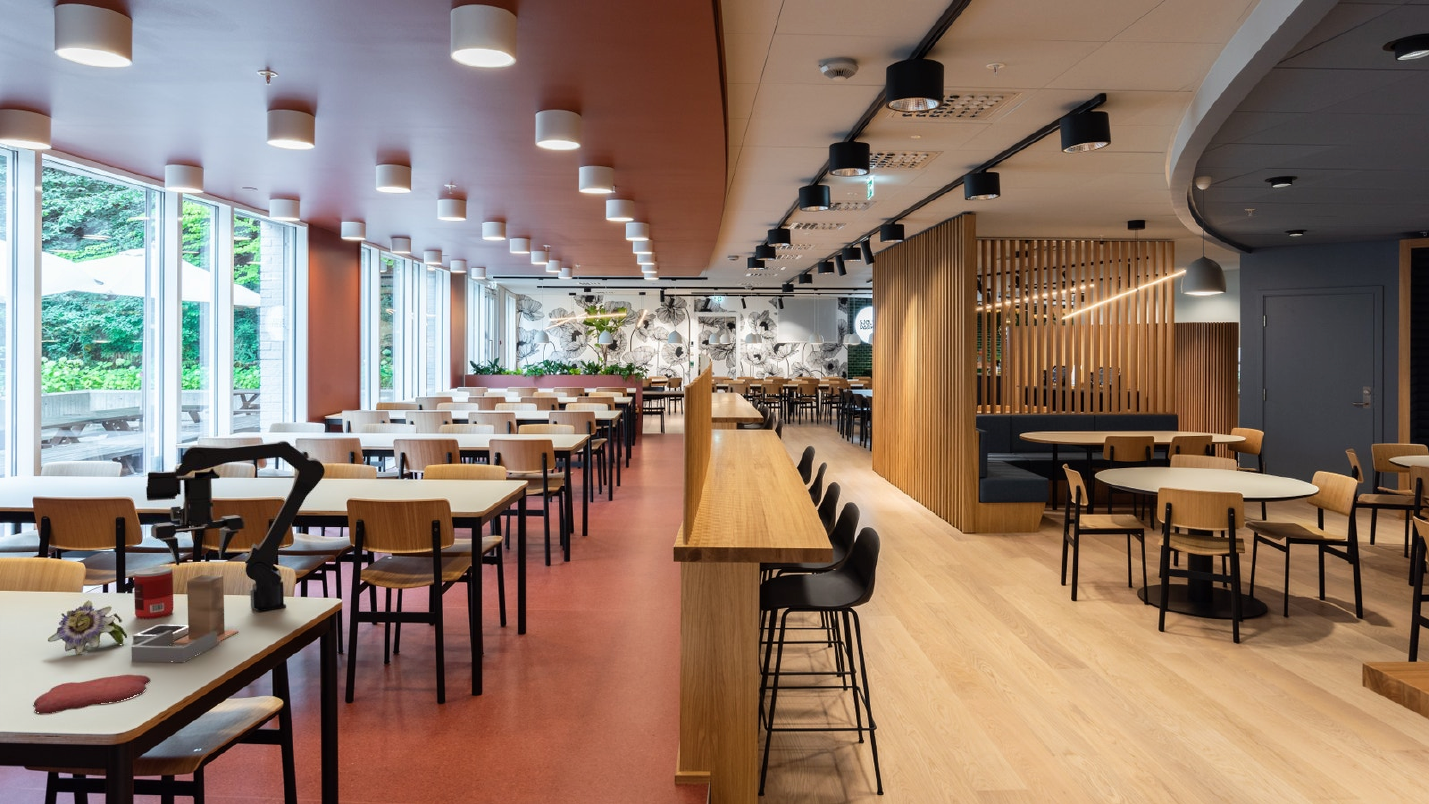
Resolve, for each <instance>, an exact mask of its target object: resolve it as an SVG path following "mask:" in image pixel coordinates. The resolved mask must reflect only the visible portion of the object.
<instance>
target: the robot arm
mask: <svg viewBox="0 0 1429 804" xmlns="http://www.w3.org/2000/svg"><path fill="white" fill-rule="evenodd" d="M276 458H281V459H282V460H283V461H285V462H286V463H287V464H289V465H290V466H292V467H293V468H294V469H295V470H297V471H296V473H295V477H294V480H293V483H292V486H291V487H292V488H291V490H290V491H289V493H288V494H287V497H286V499H285V501H284V503H283V504H282V506H281V508H280V510H279V511H278V514H277V515H276V517H275V519H274V521H273V522H272V524H271V526H270V528H269V530H268V532H267V534H266V535H265V537H264V539H263V540H262V541H261V542H260V543H259V544H256V543H254V542H253V543H252V545H251V547H250V550H249V552H248V554H247V555H245V557H244V564H245V573H246V576H247V577H248V578H249V579H251V580H253V581H255V582H254V583H252V589H251V590H250V608H252V609H253V610H254V611H256V612H259V613H261V612H266V611H272V610H277V609H283V608H286V607H287V604H286V603H285V602H284V599H285V597H284V596H285V594H284V581H283V580H282V573H281V569H279V568H278V567H277V566H275V562H276V559H277V556H278V555H277V554H278V552H279V547H280V545H281V544H282V542H283V540H284V539H285V537H286V535H287V533H288V531H289V529H290V527H291V526H292V524H293V522H294V519H295V518H296V516H297V514H298V513H299V511H300V510H301V507H302V505H303V503H304V501H305V500H306V498H307V497H308V495H310V494H311V492H312V491H313V490H314V489H315V487H317V485H318V484H319V483H320V482H321V480H322V479H323V478H324V476H325V473H326V470H325V467H324V465H323V463H322V462H321V461H320V460H319V459H318V458H316V457H315V458H314V457H308V456H307V455H305V454H304V453H302V452H301V451H299V450H298V449H297V448H295V447H294V446H292V444H291V443H289V442H288V441H286V440H279V441H275V442H266V443H254V444H253V443H252V444H245V445H243V444H242V445H234V446H219V445H218V446H217V445H209V444H208V445H206V444H196V445H192V446H189V447H188V448H187V449H186V450H185V451H184V453H183V455H182V462H181V464H180V465H179V466H177V467H176V468H175V470H174V471H173V470H172V471H154V470H153V471H152V470H151V471H148V473H147V482H146V483H147V484H146V485H147V486H146V487H145V488H146V490H145V491H146V500H147V501H149V502H151V501H167V500H168V501H169V500H170V501H171V500H176V498H177V497H178V496H180V495H182V481H183V498H184V501H183V507H181V506H172V507H170V520H171V521H172V522H161V523H154V524H153V525H152V526H151V528H150V535H151V537H152V538H154V539H157V540H160V541H161V542H163V543H165V544H166V546H167V548H168V549H169V551H170V553H171V555H172V558H173V560H174V563H175V566H180V559H181V558H180V549H179V540H178V537H176V534H179V533H185V532H186V533H190V532H196V531H198V532H199V531H204V530H214V529H218V531H219V532H218V533H219V546H218V547H219V548H218V559H219V560H223V558H224V556H225V553H226V551H227V549H228V547H229V544H230V543H231V541H232V539H233V537H234V535H235V534H238V533H239V532H240V531H239V530H244V529H245V520H244V518H242V517H241V516H239V515H237V514H234V515H226V516H224V515H223V516H221V517H220V519H219V520H214V519H213V507H214V502H213V499H212V497H213V496H212V493H213V491H212V490H213V489H212V487H213V486H212V480H214V479H215V480H217V479H220V478H221V474H220V473H218V472H217V471H216V470H215V469H214V467H218V466H221V465H224V464H225V465H226V464H229V463H238V462H239V463H240V462H246V461H257V460H267V459H276ZM208 469H209V471H202V470H208ZM193 471H194V475H190V476H187V475H188V474H190V473H191V472H193ZM177 521H179V524H174V523H173V522H177Z"/></svg>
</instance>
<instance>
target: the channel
mask: <svg viewBox="0 0 1429 804" xmlns="http://www.w3.org/2000/svg"><path fill="white" fill-rule="evenodd" d="M173 642H174V641H173V630H168V631H166V632H164V633H161V634H159V635H157V636H155V637H152V638H150V639H148V640H146V641H144V642H138V643H136V644H134V645H133V646H131V662H136V663H137V662H141V663H143V662H144V663H145V662H146V663H171V661H173V662H184V661H186V662H188V661H189V659H190V658H192V657H194V656H195V655H197V654H199V653H201V652H203V653H205V652H207V651H209V650H210V648H211V649H213V648H215V647H216V646H215V645H217V646H218V643H217V632H211V633H208V634H206V635H204V636H202V637H200V638H198V639H196V640H194V641H192V642H190V643H188V644H183V645H182V646H178V645H177V646H176V645H175V646H173V645H174V644H173ZM170 644H172V645H170ZM168 645H170V646H168ZM214 646H215V647H214ZM212 647H213V648H212ZM201 654H202V653H201ZM199 655H200V654H199ZM197 656H198V655H197ZM194 658H195V657H194ZM192 659H193V658H192ZM187 660H188V661H187ZM190 660H191V659H190ZM184 663H185V662H184Z"/></svg>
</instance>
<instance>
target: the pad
mask: <svg viewBox="0 0 1429 804" xmlns="http://www.w3.org/2000/svg"><path fill="white" fill-rule="evenodd" d="M237 632H238V633H239V630H237V629H235V630H233V629H231V630H229V629H225V633H223V634H221V635H219V636H217V644H218V643H219V642H222V641H224V640H226V639H227V638H226V637H228V636H230V637H231V636H234V635H236V634H238V633H237ZM235 633H236V634H235ZM233 634H234V635H233ZM225 638H226V639H225ZM228 638H229V637H228ZM223 639H224V640H223ZM221 640H222V641H221ZM192 641H194V640H192V639H188V635H185V636H182V637H180V638H178V639H176V640H174V641H173V644H172V645H186V644H188V643H190V642H192Z"/></svg>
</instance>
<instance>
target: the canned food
mask: <svg viewBox="0 0 1429 804" xmlns="http://www.w3.org/2000/svg"><path fill="white" fill-rule="evenodd" d="M133 590H134V591H133V593H134V595H133V596H134V615H135V617H136V619H138V620H155V619H162V618H165V617H168V616H170V615H172V613H173V611H174V573H173V567H171V566H151V567H145V568H141V569H138V570H136V571H134V572H133Z"/></svg>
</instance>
